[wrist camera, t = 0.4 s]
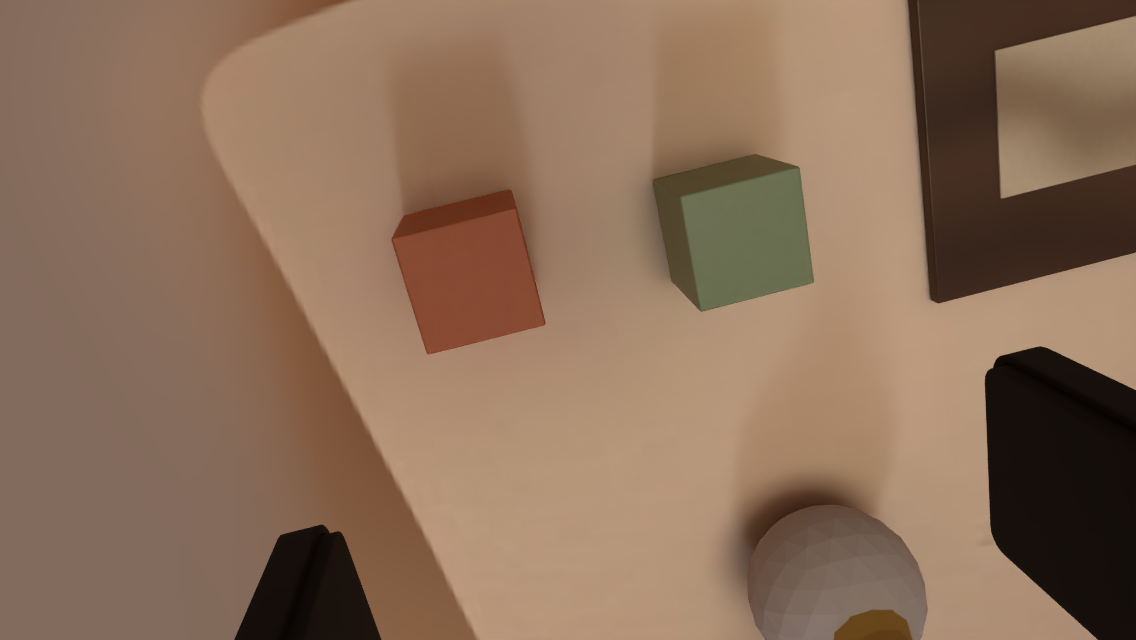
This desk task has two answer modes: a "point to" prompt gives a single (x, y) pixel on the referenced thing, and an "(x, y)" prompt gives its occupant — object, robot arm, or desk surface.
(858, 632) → the perfume bottle
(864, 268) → the desk surface
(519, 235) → the terracotta block
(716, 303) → the sage green block
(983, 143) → the word board
